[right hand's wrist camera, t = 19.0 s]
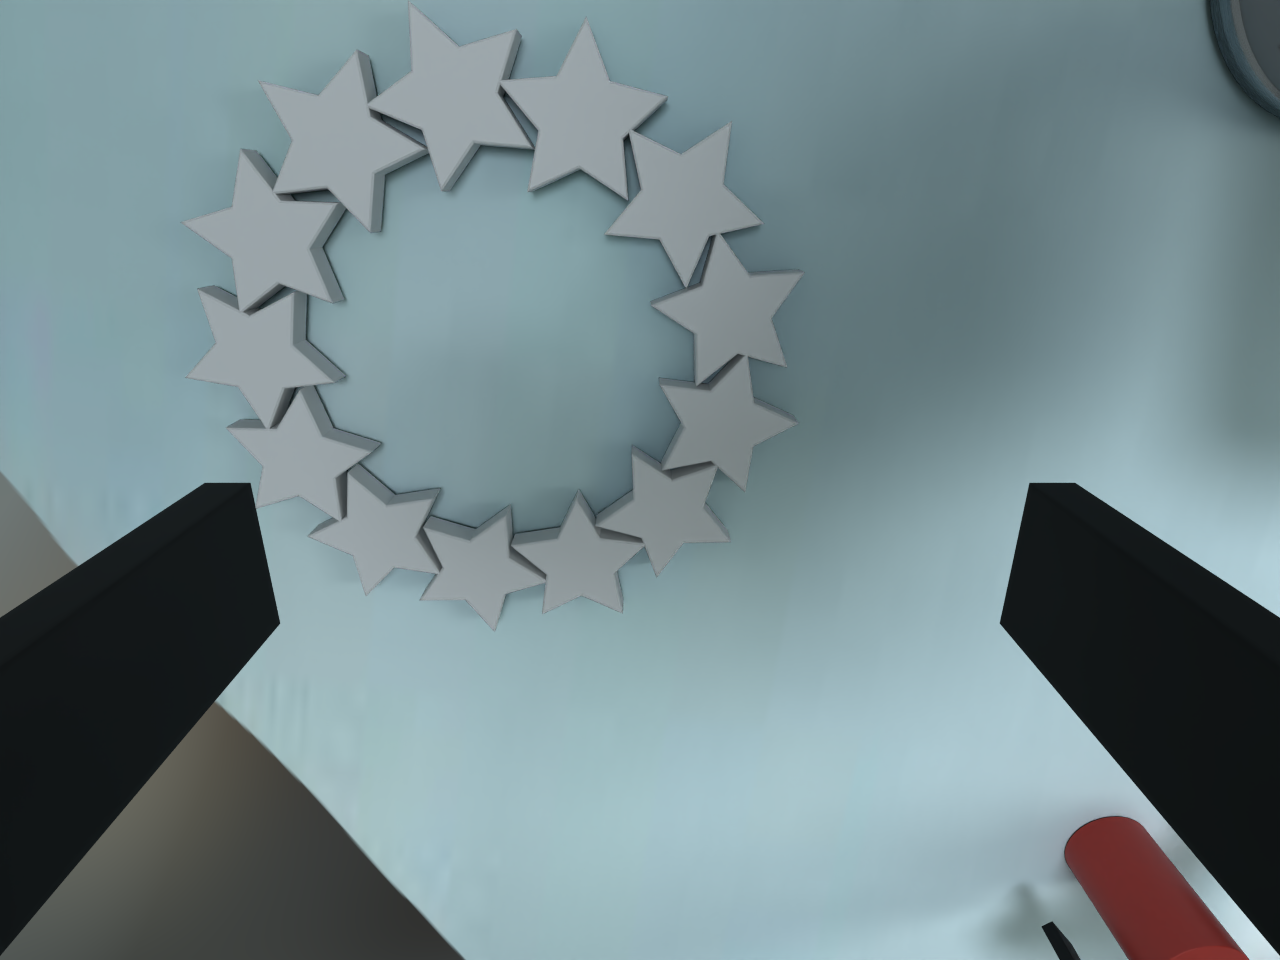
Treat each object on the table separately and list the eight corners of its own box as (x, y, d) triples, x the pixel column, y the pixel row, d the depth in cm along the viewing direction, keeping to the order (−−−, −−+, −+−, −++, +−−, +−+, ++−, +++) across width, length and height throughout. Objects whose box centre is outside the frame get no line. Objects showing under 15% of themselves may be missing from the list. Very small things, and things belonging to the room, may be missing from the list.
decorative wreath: (71, 153, 33) (370, 674, 43) (44, 151, 31) (360, 691, 42) (702, -109, 29) (863, 527, 40) (706, -126, 28) (872, 540, 38)
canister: (1052, 872, 49) (1135, 1007, 41) (1081, 811, 47) (1175, 941, 39) (1128, 880, 50) (1226, 1017, 41) (1161, 820, 48) (1270, 951, 39)
